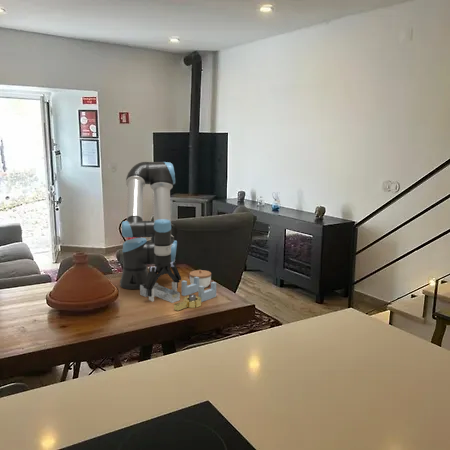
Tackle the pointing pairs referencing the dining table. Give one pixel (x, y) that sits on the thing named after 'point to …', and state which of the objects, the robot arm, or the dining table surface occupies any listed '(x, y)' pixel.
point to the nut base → (192, 297)
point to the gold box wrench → (188, 303)
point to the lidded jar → (201, 277)
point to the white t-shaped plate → (161, 293)
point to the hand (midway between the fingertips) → (163, 299)
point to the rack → (199, 289)
